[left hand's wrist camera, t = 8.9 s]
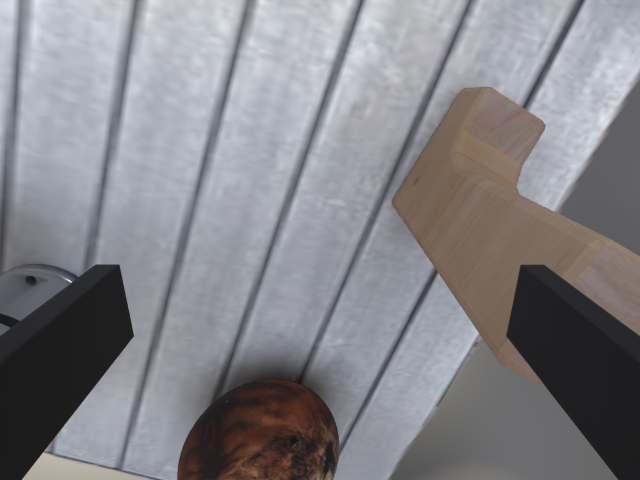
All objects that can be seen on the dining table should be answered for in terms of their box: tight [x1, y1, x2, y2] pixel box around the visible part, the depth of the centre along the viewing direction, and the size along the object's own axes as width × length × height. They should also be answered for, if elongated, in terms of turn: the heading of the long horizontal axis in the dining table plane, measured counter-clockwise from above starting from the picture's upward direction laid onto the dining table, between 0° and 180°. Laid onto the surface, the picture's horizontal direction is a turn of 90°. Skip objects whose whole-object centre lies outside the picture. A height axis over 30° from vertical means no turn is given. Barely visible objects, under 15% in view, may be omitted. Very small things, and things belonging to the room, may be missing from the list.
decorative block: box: [392, 87, 640, 387], centre depth 30 cm, size 8×15×30 cm, turn 151°
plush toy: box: [177, 379, 339, 480], centre depth 50 cm, size 22×18×20 cm
